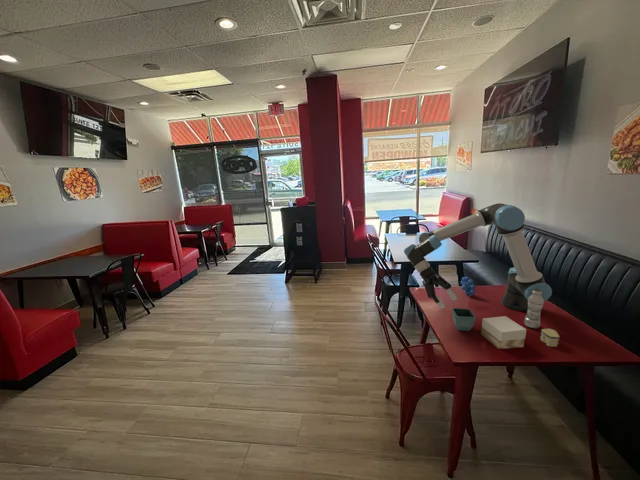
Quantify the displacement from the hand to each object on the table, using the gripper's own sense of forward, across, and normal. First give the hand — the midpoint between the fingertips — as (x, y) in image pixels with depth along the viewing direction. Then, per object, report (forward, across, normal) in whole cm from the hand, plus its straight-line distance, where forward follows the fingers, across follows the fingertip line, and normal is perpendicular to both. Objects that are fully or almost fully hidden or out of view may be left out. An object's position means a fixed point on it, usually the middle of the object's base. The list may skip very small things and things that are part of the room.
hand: (449, 303), depth 140 cm
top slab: (+22, -4, +12) cm, 25 cm away
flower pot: (+13, -1, -3) cm, 14 cm away
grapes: (+2, -42, -15) cm, 45 cm away
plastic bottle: (+29, -28, +13) cm, 42 cm away
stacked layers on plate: (+36, -18, +19) cm, 44 cm away
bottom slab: (+25, -4, +8) cm, 27 cm away
